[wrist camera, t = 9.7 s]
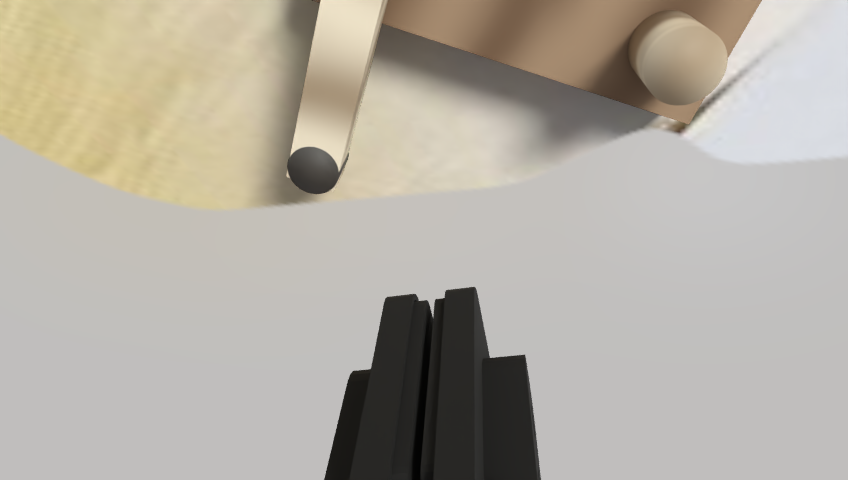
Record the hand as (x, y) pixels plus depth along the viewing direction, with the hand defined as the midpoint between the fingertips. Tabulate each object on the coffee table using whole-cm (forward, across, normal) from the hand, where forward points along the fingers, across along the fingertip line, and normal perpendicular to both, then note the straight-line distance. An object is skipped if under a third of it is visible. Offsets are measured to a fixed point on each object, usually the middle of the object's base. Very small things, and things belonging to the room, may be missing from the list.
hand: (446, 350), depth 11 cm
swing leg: (+20, +6, -1) cm, 21 cm away
